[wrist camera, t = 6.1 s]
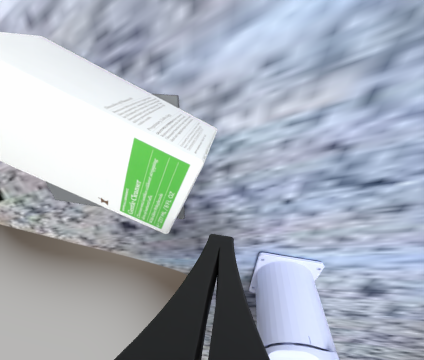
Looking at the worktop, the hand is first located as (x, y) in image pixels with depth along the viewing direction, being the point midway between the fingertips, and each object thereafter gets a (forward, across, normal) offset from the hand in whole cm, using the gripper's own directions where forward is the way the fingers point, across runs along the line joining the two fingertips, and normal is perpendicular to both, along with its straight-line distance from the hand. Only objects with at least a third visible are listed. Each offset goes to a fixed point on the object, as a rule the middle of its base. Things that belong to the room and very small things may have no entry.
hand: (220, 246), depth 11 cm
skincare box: (+5, +3, -1) cm, 6 cm away
